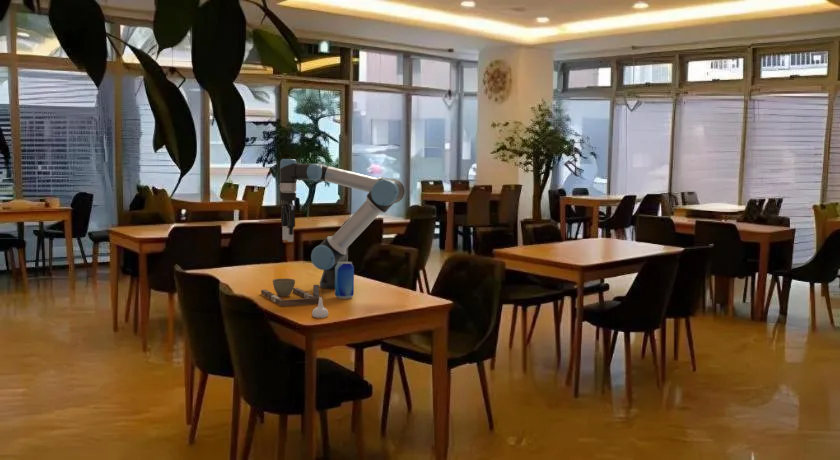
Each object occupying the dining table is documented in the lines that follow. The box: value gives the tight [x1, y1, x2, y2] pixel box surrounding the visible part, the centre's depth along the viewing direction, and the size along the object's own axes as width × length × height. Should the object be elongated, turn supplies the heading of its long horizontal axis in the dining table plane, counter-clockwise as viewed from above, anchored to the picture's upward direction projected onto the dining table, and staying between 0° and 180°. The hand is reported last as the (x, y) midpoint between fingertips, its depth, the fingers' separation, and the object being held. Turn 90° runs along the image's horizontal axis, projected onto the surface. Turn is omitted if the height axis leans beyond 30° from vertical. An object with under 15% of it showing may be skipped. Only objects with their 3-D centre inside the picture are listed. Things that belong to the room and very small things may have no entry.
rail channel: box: [260, 284, 320, 307], centre depth 347 cm, size 32×21×6 cm, turn 27°
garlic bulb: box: [311, 296, 329, 319], centre depth 310 cm, size 6×6×8 cm
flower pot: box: [272, 278, 296, 297], centre depth 354 cm, size 10×10×7 cm
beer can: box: [334, 261, 355, 300], centre depth 352 cm, size 8×8×16 cm
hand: (287, 240), depth 370 cm, fingers open, 7 cm apart
